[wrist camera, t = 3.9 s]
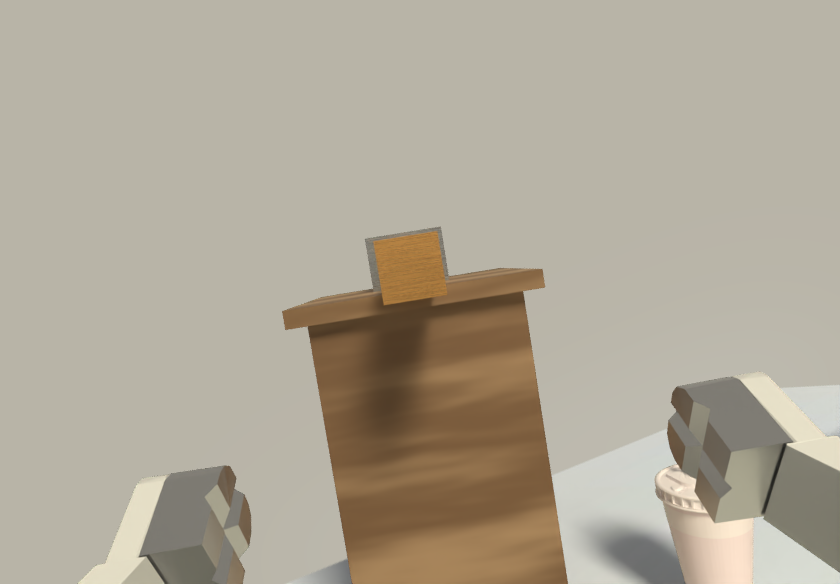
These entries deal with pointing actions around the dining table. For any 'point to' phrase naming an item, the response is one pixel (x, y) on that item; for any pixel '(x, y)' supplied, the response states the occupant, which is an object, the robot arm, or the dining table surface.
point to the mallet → (408, 265)
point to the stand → (437, 433)
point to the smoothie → (704, 534)
